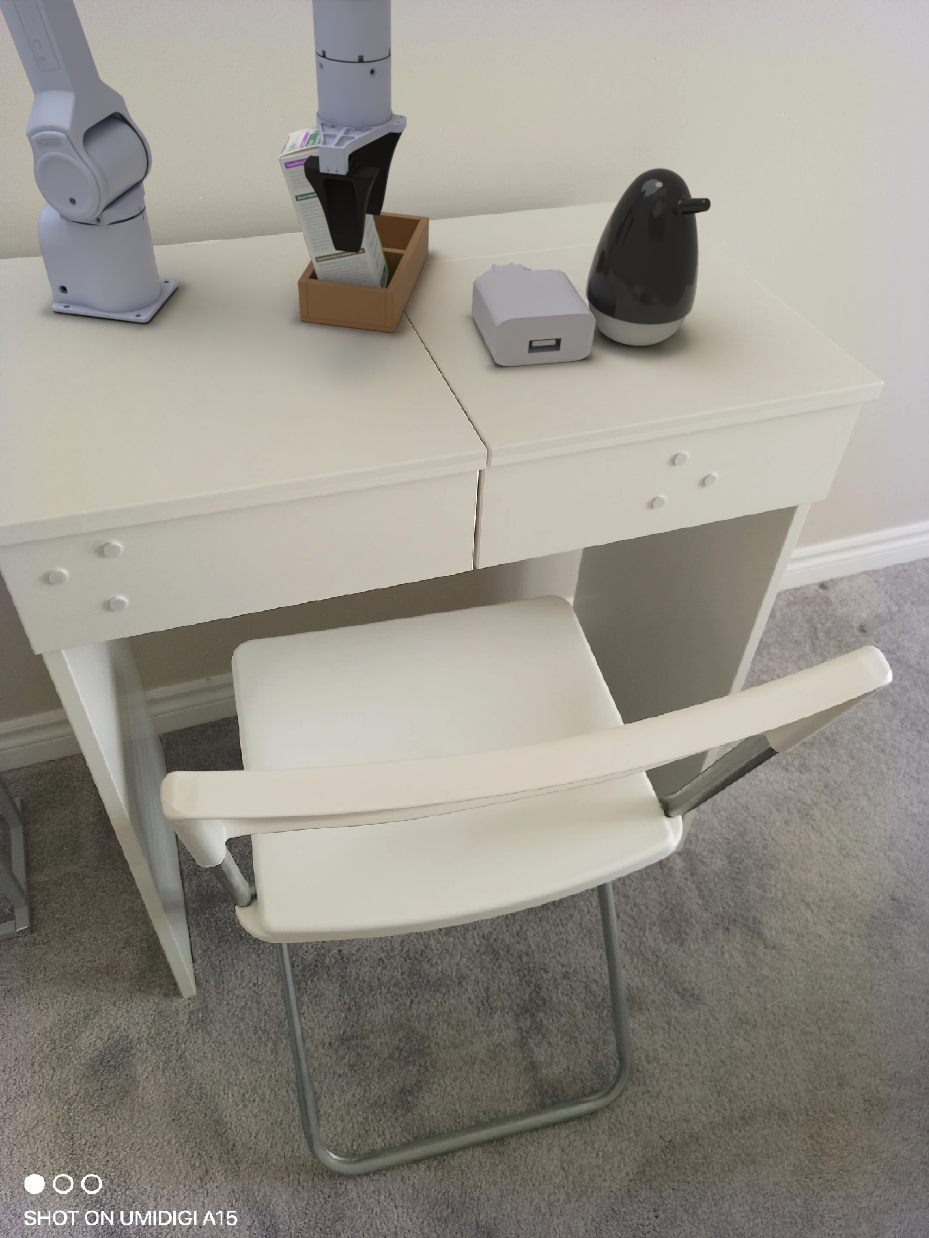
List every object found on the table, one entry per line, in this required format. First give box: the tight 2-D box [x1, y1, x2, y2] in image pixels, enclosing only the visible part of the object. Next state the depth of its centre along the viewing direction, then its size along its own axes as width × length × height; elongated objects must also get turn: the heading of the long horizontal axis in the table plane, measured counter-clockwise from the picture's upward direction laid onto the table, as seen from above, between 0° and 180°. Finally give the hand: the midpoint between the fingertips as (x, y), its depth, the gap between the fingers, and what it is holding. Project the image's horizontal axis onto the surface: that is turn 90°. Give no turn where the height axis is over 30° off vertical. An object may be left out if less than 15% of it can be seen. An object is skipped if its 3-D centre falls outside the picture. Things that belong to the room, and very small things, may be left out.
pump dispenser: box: [585, 167, 712, 347], centre depth 87 cm, size 10×10×15 cm
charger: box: [471, 262, 596, 367], centre depth 91 cm, size 5×9×15 cm
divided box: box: [297, 211, 430, 334], centre depth 95 cm, size 9×17×4 cm, turn 171°
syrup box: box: [278, 125, 389, 288], centre depth 88 cm, size 6×6×14 cm
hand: (358, 231), depth 81 cm, fingers open, 7 cm apart
